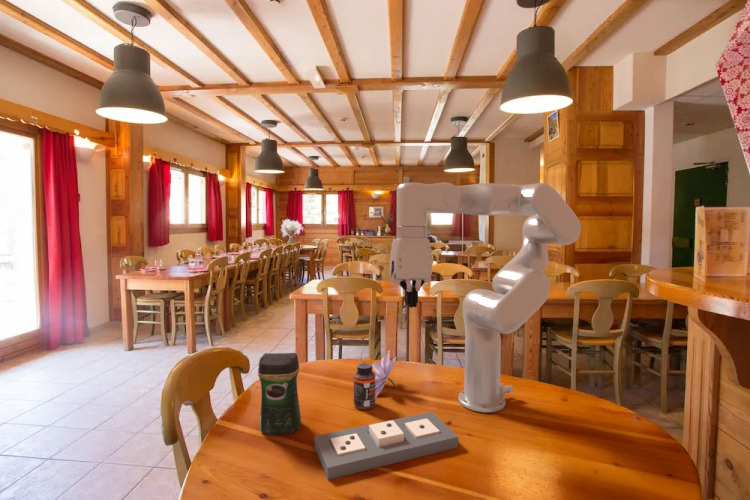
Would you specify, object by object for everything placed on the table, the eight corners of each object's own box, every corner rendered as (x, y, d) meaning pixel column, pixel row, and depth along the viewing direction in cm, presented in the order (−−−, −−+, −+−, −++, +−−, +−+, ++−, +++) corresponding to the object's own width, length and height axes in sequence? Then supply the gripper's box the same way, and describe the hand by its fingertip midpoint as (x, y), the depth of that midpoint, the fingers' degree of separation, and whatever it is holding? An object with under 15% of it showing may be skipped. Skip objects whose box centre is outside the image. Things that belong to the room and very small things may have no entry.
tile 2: (392, 429, 92) (392, 419, 92) (403, 443, 87) (403, 432, 86) (368, 435, 90) (368, 424, 90) (378, 449, 85) (378, 438, 84)
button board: (431, 421, 99) (431, 411, 99) (458, 447, 88) (458, 436, 88) (314, 446, 89) (314, 435, 89) (327, 479, 78) (327, 467, 77)
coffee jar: (303, 418, 101) (301, 348, 99) (297, 436, 93) (295, 359, 91) (265, 419, 101) (263, 348, 99) (256, 436, 93) (254, 360, 91)
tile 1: (426, 427, 96) (426, 417, 95) (439, 441, 90) (439, 430, 90) (404, 432, 93) (404, 422, 93) (416, 446, 88) (416, 435, 88)
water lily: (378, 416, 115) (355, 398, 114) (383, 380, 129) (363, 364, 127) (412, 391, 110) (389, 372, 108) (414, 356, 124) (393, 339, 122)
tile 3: (356, 443, 89) (356, 432, 89) (365, 458, 84) (365, 446, 83) (330, 448, 87) (330, 437, 87) (338, 464, 81) (338, 453, 81)
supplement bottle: (373, 411, 104) (372, 370, 103) (351, 409, 106) (350, 368, 105) (377, 401, 110) (377, 362, 109) (356, 399, 111) (356, 360, 110)
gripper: (430, 232, 104) (430, 300, 105) (378, 233, 98) (378, 305, 100) (445, 233, 97) (444, 307, 98) (389, 234, 91) (389, 312, 93)
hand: (411, 306), depth 99 cm, fingers closed
